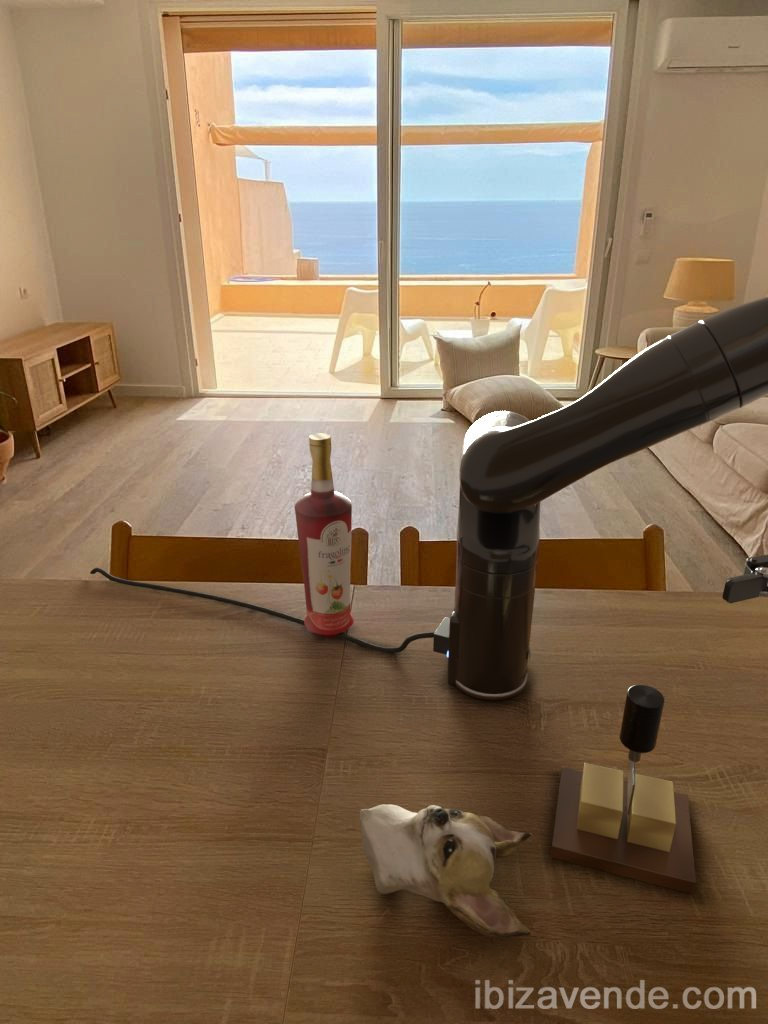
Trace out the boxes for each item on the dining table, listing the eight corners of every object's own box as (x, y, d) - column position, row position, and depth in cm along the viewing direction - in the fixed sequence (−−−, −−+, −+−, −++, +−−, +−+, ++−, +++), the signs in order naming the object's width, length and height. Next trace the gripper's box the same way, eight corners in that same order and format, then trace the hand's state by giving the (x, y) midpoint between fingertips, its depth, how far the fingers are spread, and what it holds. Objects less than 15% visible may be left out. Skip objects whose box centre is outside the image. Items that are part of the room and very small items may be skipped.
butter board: (550, 857, 63) (555, 817, 61) (560, 777, 72) (565, 740, 69) (692, 894, 60) (703, 853, 57) (685, 805, 68) (694, 767, 66)
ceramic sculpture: (373, 751, 63) (541, 782, 61) (369, 818, 67) (527, 850, 64) (344, 851, 54) (541, 893, 51) (342, 922, 57) (525, 965, 55)
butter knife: (610, 810, 61) (627, 716, 57) (612, 758, 66) (627, 669, 62) (646, 818, 60) (666, 724, 56) (645, 766, 66) (663, 676, 61)
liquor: (316, 649, 92) (304, 450, 80) (294, 623, 98) (280, 433, 86) (365, 633, 95) (360, 439, 84) (341, 608, 101) (333, 423, 89)
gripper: (842, 516, 69) (711, 542, 64) (998, 585, 57) (849, 623, 52) (823, 581, 72) (696, 611, 67) (967, 660, 60) (824, 702, 55)
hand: (763, 616), depth 60 cm, fingers open, 8 cm apart
